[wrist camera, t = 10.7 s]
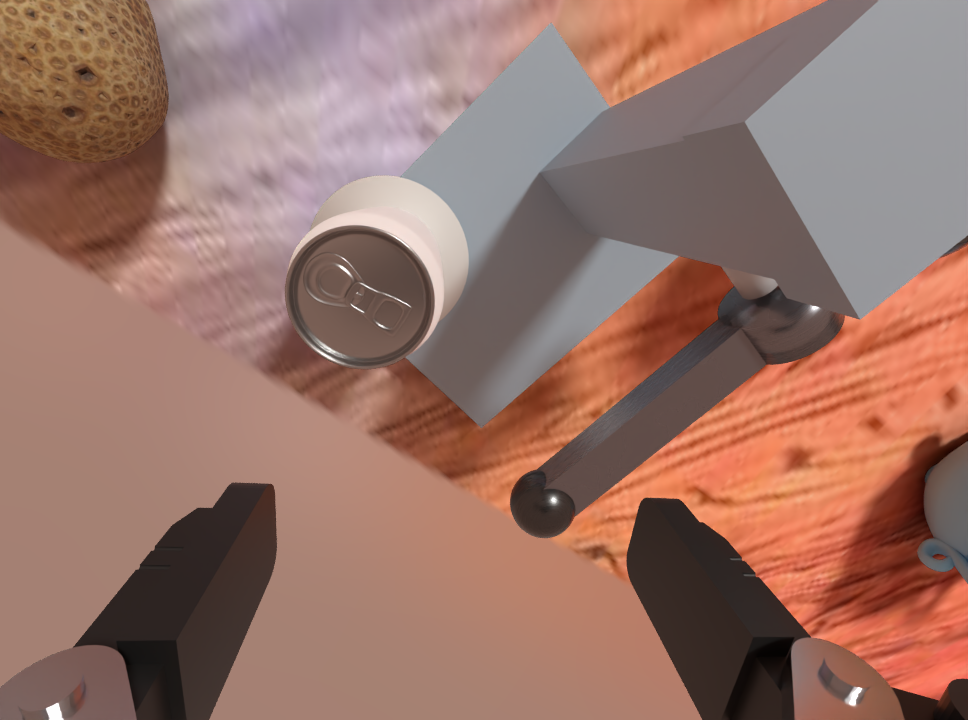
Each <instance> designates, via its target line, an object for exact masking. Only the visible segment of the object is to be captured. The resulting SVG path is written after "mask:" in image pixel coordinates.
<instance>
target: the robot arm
mask: <svg viewBox="0 0 968 720" xmlns="http://www.w3.org/2000/svg"><path fill="white" fill-rule="evenodd" d="M276 537H277V536H276V509H275V490H274V486H273V485H272V484H258V483H231V484H230V485H229V486H228V487H227V489H226V490H225V492H224V493H223V494H222V496H221V497H220V498H219V500H218V501H217V502H216V504H215V505H214V507H213V508H197V509H196V510H194V511H193V512H191V513H190V514H188V515H187V516H185V517H184V518H182V519H181V520H179V521H178V522H176V523H175V524H173V525H172V526H171V528H170V529H169V530H168V531H167V532H166V534H165V535H164V536H163V537H162V539H161V540H160V541H159V542H158V543H157V545H156V546H155V550H154V551H151V552H150V553H149V554H148V556H147V557H146V558H145V559H144V561H143V562H142V563H141V564H140V568H139V570H135V572H134V573H133V574H132V575H131V577H130V578H129V579H128V580H127V582H126V583H125V584H124V585H123V587H122V588H121V589H120V590H119V591H118V593H117V594H116V595H115V597H114V598H113V599H112V600H111V601H110V603H109V604H108V605H107V606H106V607H105V609H104V610H103V611H102V612H101V614H100V615H99V616H98V617H97V619H96V620H95V621H94V622H93V623H92V625H91V626H90V627H89V628H88V630H87V631H86V632H85V633H84V635H83V636H82V637H81V638H80V640H79V641H78V642H77V643H76V644H75V646H74V647H73V648H71V649H67V650H64V651H61V652H58V653H56V654H53V655H50V656H48V657H46V658H44V659H42V660H40V661H38V662H36V663H34V664H32V665H31V666H29V667H27V668H25V669H24V670H22V671H21V672H19V673H18V674H17V675H15V676H14V677H12V678H11V679H10V680H9V681H8V682H6V683H5V684H4V685H2V686H1V688H0V720H209V719H210V716H211V714H212V712H213V709H214V707H215V705H216V702H217V700H218V698H219V696H220V693H221V691H222V689H223V686H224V684H225V682H226V679H227V677H228V675H229V673H230V670H231V668H232V666H233V663H234V661H235V659H236V656H237V654H238V652H239V649H240V647H241V645H242V643H243V640H244V638H245V636H246V633H247V631H248V629H249V626H250V624H251V622H252V620H253V617H254V615H255V612H256V610H257V608H258V606H259V603H260V601H261V599H262V597H263V594H264V592H265V589H266V587H267V585H268V583H269V580H270V578H271V575H272V572H273V569H274V564H275V559H276V551H277V538H276ZM627 570H628V575H629V578H630V581H631V583H632V585H633V587H634V589H635V591H636V593H637V595H638V597H639V599H640V601H641V603H642V604H643V606H644V608H645V610H646V612H647V614H648V616H649V618H650V620H651V622H652V624H653V626H654V627H655V629H656V631H657V633H658V635H659V637H660V639H661V641H662V643H663V645H664V647H665V649H666V651H667V652H668V654H669V656H670V658H671V660H672V662H673V664H674V666H675V668H676V670H677V672H678V674H679V675H680V677H681V679H682V681H683V683H684V685H685V687H686V689H687V691H688V693H689V695H690V697H691V699H692V700H693V702H694V704H695V706H696V708H697V710H698V712H699V714H700V716H701V718H702V720H968V679H956V680H953V681H952V682H951V683H950V684H949V685H948V687H947V688H946V690H945V692H944V694H943V695H942V697H941V699H940V700H935V699H931V698H928V697H924V696H921V695H917V694H914V693H910V692H906V691H903V690H899V689H896V688H892V687H890V685H889V684H888V683H887V682H886V681H885V679H884V678H883V677H882V676H881V675H880V674H879V673H878V672H877V671H876V670H875V669H874V668H872V667H871V666H870V665H869V664H867V663H866V662H865V661H864V660H862V659H861V658H859V657H858V656H856V655H855V654H853V653H852V652H850V651H848V650H847V649H845V648H843V647H841V646H839V645H836V644H834V643H831V642H829V641H825V640H822V639H817V638H811V636H810V635H809V634H808V633H807V632H806V631H805V630H804V628H803V627H802V626H801V625H800V624H799V623H798V622H797V620H796V619H795V618H794V617H793V616H792V615H791V613H790V612H789V611H788V610H787V609H786V608H785V607H784V605H783V604H782V603H781V602H780V601H779V600H778V599H777V597H776V596H775V595H774V594H773V593H772V592H771V590H770V589H769V588H768V587H767V586H766V585H765V584H764V582H763V581H762V580H761V579H760V578H759V577H756V576H755V572H754V571H753V570H752V569H751V568H750V566H749V565H748V564H747V563H746V562H745V561H742V557H741V556H740V555H739V554H738V553H737V551H736V550H735V549H734V548H733V547H732V546H731V545H730V543H729V542H728V541H727V540H726V539H725V538H724V537H722V536H721V535H720V534H718V533H717V532H715V531H714V530H713V529H711V528H710V527H709V526H707V525H706V524H704V523H703V522H699V521H698V520H697V519H696V517H695V516H694V515H693V514H692V513H691V511H690V510H689V509H688V508H687V507H686V505H685V504H684V503H683V502H682V501H681V500H679V499H667V498H644V499H643V500H642V501H641V503H640V506H639V509H638V513H637V517H636V521H635V524H634V528H633V532H632V536H631V540H630V544H629V548H628V552H627Z"/></svg>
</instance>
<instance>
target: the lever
mask: <svg viewBox="0 0 968 720" xmlns="http://www.w3.org/2000/svg"><path fill="white" fill-rule="evenodd" d="M967 245H968V236H966V237H965V238H964V239H962V240H961V241H960V242H959V243H957V244H956V245H955V246H953V247H952V248H951V249H950V250H948V251H947V252H946V253H944V254H943V255H942V256H941V257H944V256H947V255H949V254H952V253H954V252H956V251H958V250H960V249H962V248H964V247H965V246H967ZM941 257H939V258H941ZM718 318H719V319H718V320H717V321H716V322H714V323H713V324H712V325H711V326H710V327H708V328H707V329H706V330H705V331H704V332H702V333H701V334H700V335H699V336H697V337H696V338H695V339H694V340H693V341H691V342H690V343H689V344H688V345H687V346H685V347H684V348H683V349H682V350H681V351H679V352H678V353H677V354H676V355H675V356H673V357H672V358H671V359H670V360H669V361H667V362H666V363H665V364H664V365H663V366H661V367H660V368H659V369H658V370H656V371H655V372H654V373H653V374H652V375H650V376H649V377H648V378H647V379H646V380H644V381H643V382H642V383H641V384H640V385H638V386H637V387H636V388H635V389H634V390H632V391H631V392H630V393H629V394H628V395H626V396H625V397H624V398H623V399H621V400H620V401H619V402H618V403H617V404H615V405H614V406H613V407H612V408H611V409H609V410H608V411H607V412H606V413H605V414H603V415H602V416H601V417H600V418H599V419H597V420H596V421H595V422H594V423H593V424H591V425H590V426H589V427H588V428H586V429H585V430H584V431H583V432H582V433H580V434H579V435H578V436H577V437H576V438H574V439H573V440H572V441H571V442H570V443H568V444H567V445H566V446H565V447H564V448H562V449H561V450H560V451H559V452H558V453H556V454H555V455H554V456H553V457H551V458H550V459H549V460H548V461H547V462H545V463H544V464H543V465H542V466H541V467H539V468H538V469H537V470H533V471H530V472H528V473H526V474H525V475H523V476H522V477H521V478H520V479H519V480H518V481H517V482H516V484H515V486H514V487H513V490H512V493H511V498H510V507H511V512H512V515H513V517H514V519H515V521H516V523H517V524H518V525H519V527H520V528H521V529H522V530H524V531H525V532H526V533H528V534H530V535H532V536H535V537H538V538H550V537H554V536H557V535H559V534H561V533H562V532H564V531H565V530H566V529H567V528H568V527H569V526H570V524H571V523H572V521H573V519H574V517H575V516H576V515H578V514H579V513H580V512H581V511H583V510H584V509H585V508H586V507H588V506H589V505H590V504H591V503H593V502H594V501H595V500H596V499H598V498H599V497H600V496H602V495H603V494H604V493H605V492H607V491H608V490H609V489H610V488H612V487H613V486H614V485H615V484H617V483H618V482H619V481H620V480H622V479H623V478H624V477H625V476H627V475H628V474H629V473H630V472H632V471H633V470H634V469H636V468H637V467H638V466H639V465H641V464H642V463H643V462H644V461H646V460H647V459H648V458H649V457H651V456H652V455H653V454H654V453H656V452H657V451H658V450H659V449H661V448H662V447H663V446H665V445H666V444H667V443H668V442H670V441H671V440H672V439H673V438H675V437H676V436H677V435H678V434H680V433H681V432H682V431H683V430H685V429H686V428H687V427H688V426H690V425H691V424H692V423H693V422H695V421H696V420H697V419H699V418H700V417H701V416H702V415H704V414H705V413H706V412H707V411H709V410H710V409H711V408H712V407H714V406H715V405H716V404H717V403H719V402H720V401H721V400H722V399H724V398H725V397H726V396H727V395H729V394H730V393H731V392H733V391H734V390H735V389H736V388H738V387H739V386H740V385H741V384H743V383H744V382H745V381H746V380H748V379H749V378H750V377H751V376H753V375H754V374H755V373H756V372H758V371H759V370H760V369H762V368H763V367H764V366H765V365H767V364H770V365H773V364H782V363H788V362H792V361H795V360H798V359H801V358H803V357H806V356H808V355H810V354H812V353H814V352H816V351H818V350H819V349H821V348H822V347H824V346H825V345H826V344H828V343H829V342H830V341H831V340H832V339H833V338H834V337H835V336H836V335H837V334H838V332H839V331H840V329H841V327H842V325H843V323H844V318H845V316H844V315H843V314H839V313H836V312H833V311H829V310H826V309H822V308H819V307H815V306H812V305H808V304H805V303H801V302H798V301H795V300H791V299H788V298H786V297H785V295H784V293H783V292H782V290H781V289H780V287H779V286H777V287H776V288H775V289H774V290H773V291H771V292H770V293H768V294H766V295H765V296H762V297H760V298H757V299H751V300H747V299H744V298H742V296H741V295H740V294H739V292H738V291H737V289H736V288H735V286H734V287H733V288H732V289H731V290H730V291H729V292H728V293H727V294H726V296H725V297H724V298H723V300H722V301H721V303H720V305H719V308H718Z"/></svg>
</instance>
